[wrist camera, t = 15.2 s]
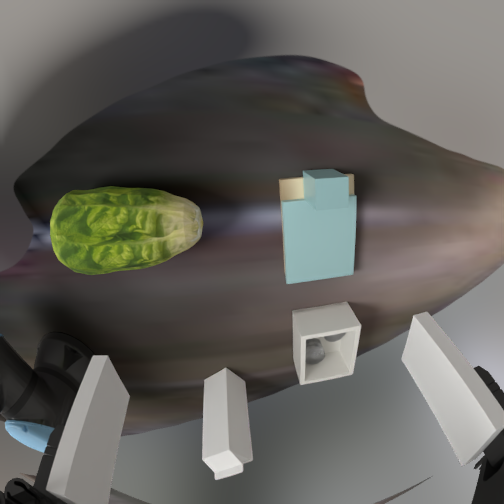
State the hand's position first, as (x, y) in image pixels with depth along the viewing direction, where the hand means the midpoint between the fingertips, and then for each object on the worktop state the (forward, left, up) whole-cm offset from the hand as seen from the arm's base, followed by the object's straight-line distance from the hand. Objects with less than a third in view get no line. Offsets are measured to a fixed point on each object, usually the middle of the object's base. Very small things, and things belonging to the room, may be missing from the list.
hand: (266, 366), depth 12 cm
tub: (+12, -28, -33) cm, 45 cm away
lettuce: (-15, -2, -33) cm, 36 cm away
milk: (-7, -38, -33) cm, 51 cm away
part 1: (+10, -30, -32) cm, 45 cm away
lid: (+12, -7, -32) cm, 35 cm away
